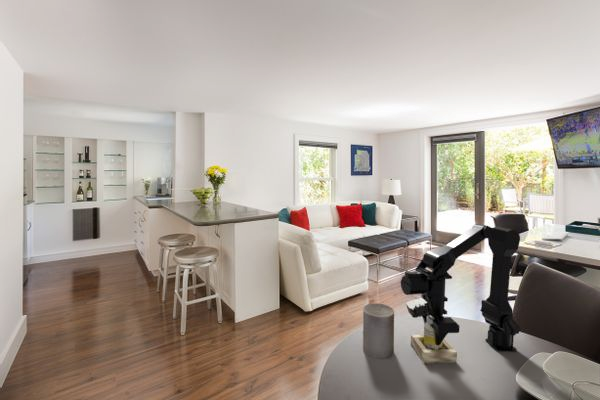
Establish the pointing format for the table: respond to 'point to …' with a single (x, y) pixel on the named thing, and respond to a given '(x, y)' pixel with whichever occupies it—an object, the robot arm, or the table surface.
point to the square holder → (433, 351)
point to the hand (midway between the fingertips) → (433, 339)
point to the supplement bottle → (430, 336)
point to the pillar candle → (378, 330)
